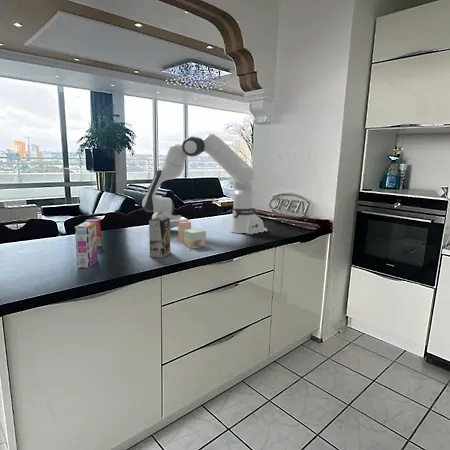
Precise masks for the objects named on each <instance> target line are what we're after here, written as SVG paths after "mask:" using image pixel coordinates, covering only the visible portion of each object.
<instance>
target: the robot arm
mask: <svg viewBox="0 0 450 450" xmlns="http://www.w3.org/2000/svg"><path fill="white" fill-rule="evenodd" d="M202 153H206V154H208V156H210V157H211V158H212V159H213V160H214V161H215V162H216V163H217V164H218V165H219V166H220V167H221V168H222V169H223V170H224V171H226V173H227V174H228V175H229V176H230V177H231V178H233V207H232V223H231V228H230V232H232V233H235V234H242V233H246V234H245V235H247V234H248V235H255V234H259V232H260V233H264V231H265V232H268V229H267V228H266V227H265V226H264V220H262V219H261V218H260V217H259V216H258V215H257V214H256V213H258V212H259V209H258V208H254V207H253V198H254V196H253V180H254V178H255V172H254V171H255V170H253V168H252V167H251V166H250V165H249V164H248V163H247V162H246V161H245V160H244V159H243V158H241V157H240V156H239V155H238V154H237V153H236V152H235V151H234V150H233V149H232V148H231V147H230V146H229V145H228V144H227V143H226V142H224V140H222V139H221V138H220V137H218V136H217V135H215V134H214V133H208V134H207V135H205V136H204V137H203V138H201V137H199V136H195V135H193V136H188V137H186V138H185V139H184V140H183V141H182V144H179V143H173V144H171V145H170V146H169V149H168V151H167V154H166V156H165V160H164V163H163V165H162V167H160V168H159V169H157V170H156V172H155V173H154V176H153V177H152V179H151V181H150V185H149V186H148V189H147V192H146V193H145V196H144V197H143V198H142V202H141V206H142V209H143V210H144V211H145V212H147V213H153V214H152V216H151V220H152V219H154V218H170V230H171V229H173V228H178V222H180V221H189V219H188V218H185V217H184V216H182V215H180V214H178V215H177V214H174V211H175V203H174V202H173V200H172V198H171V197H164V196H158V195H156V194H157V192H158V189H159V186H160V184H161V183H163V182H165V181H168V180H174V179H177V178H179V177H180V176H181V174H182V173H183V171H184V168H185V167H184V166H185V163H186V159H187V158H188V157H191V158H193V157H197V156H200V155H202ZM255 212H256V213H255ZM254 233H255V234H254Z"/></svg>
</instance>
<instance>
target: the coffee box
mask: <svg viewBox="0 0 450 450" xmlns="http://www.w3.org/2000/svg"><path fill="white" fill-rule="evenodd" d="M148 224H149V225H148V227H149V228H148V229H149V230H148V232H149V233H148V235H149V236H148V237H149V238H148V239H149V257H150V258H151V257H152V258H160V259H162V258H165V257H166V256H168V255H169V254H170V253H171V229H170V218H154V219H152V218H151V219H149V220H148Z"/></svg>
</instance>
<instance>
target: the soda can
mask: <svg viewBox="0 0 450 450" xmlns="http://www.w3.org/2000/svg"><path fill="white" fill-rule="evenodd" d="M84 222H96V233H97V248H100V247H101V246H102V244H103V242H102V229H101V228H102V225H101V221H100V219H99V218H88V219H85V221H84ZM99 246H100V247H99Z"/></svg>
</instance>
